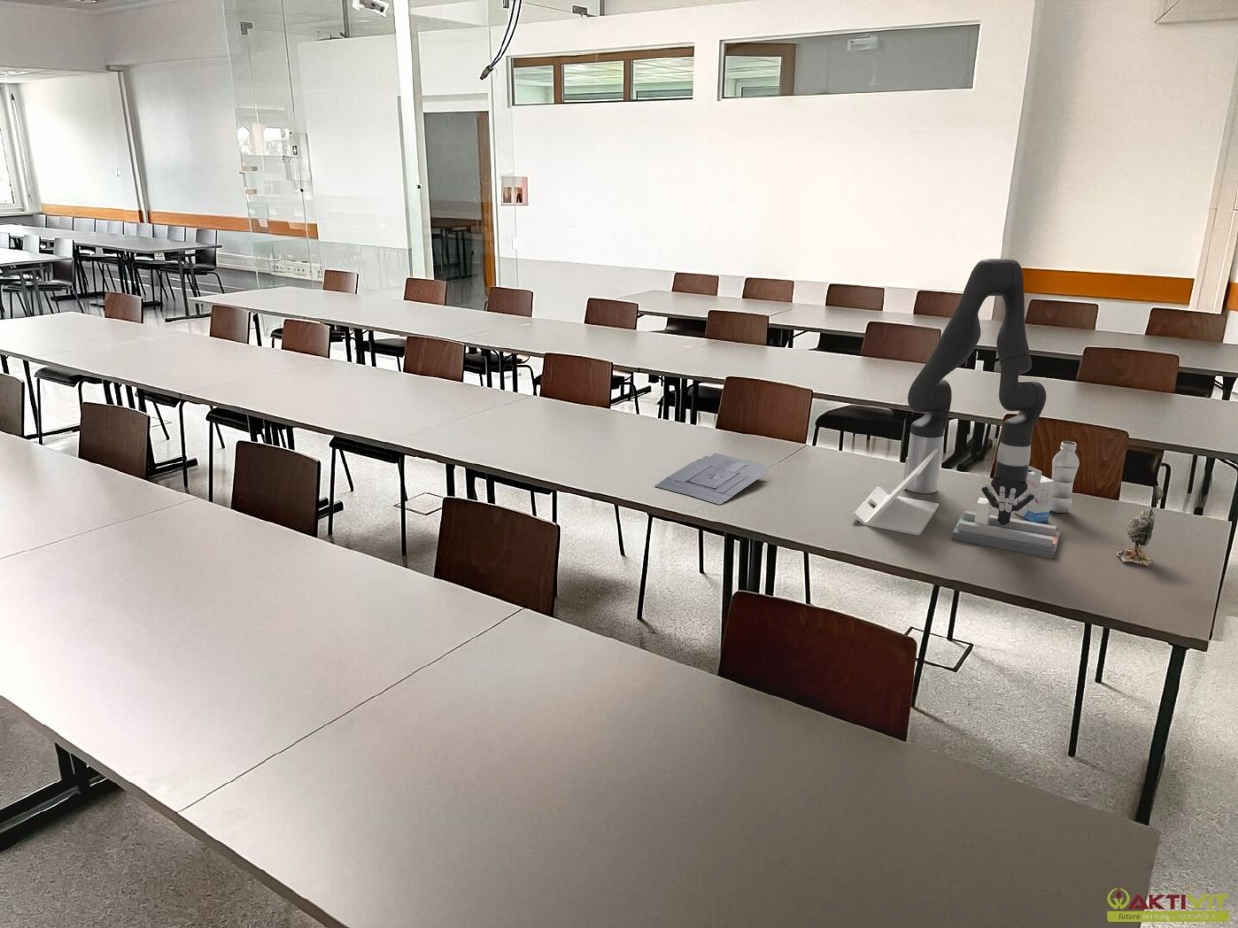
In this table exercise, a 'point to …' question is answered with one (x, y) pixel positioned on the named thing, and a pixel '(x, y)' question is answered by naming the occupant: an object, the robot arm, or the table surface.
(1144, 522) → the plant with pod
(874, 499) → the tablet stand
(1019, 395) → the robot arm
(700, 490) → the papers
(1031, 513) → the ink box
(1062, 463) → the plastic bottle
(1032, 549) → the switch panel
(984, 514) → the white rectangular block
